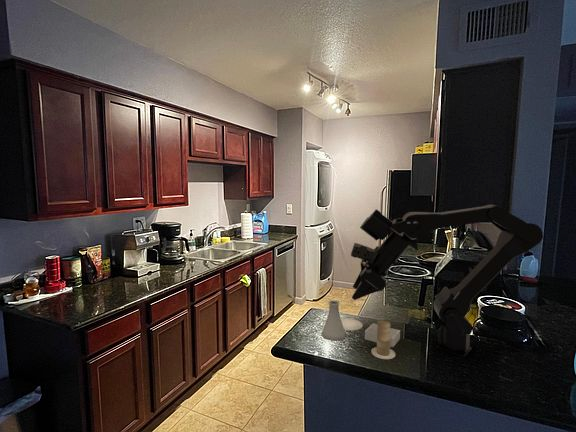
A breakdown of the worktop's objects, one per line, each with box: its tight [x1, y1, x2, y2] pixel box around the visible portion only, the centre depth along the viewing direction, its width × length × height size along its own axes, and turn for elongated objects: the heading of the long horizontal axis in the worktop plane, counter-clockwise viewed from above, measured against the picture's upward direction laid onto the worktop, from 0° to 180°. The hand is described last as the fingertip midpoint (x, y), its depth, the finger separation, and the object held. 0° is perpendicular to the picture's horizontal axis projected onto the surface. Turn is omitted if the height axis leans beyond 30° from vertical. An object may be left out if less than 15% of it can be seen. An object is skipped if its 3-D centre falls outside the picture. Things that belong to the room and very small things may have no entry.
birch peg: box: [376, 319, 391, 356], centre depth 80 cm, size 3×3×8 cm
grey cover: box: [364, 322, 401, 348], centre depth 87 cm, size 8×6×3 cm
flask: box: [321, 299, 347, 341], centre depth 90 cm, size 7×7×10 cm
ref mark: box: [370, 346, 396, 360], centre depth 80 cm, size 6×6×1 cm
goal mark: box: [341, 318, 363, 331], centre depth 97 cm, size 8×8×1 cm
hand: (353, 293), depth 87 cm, fingers open, 9 cm apart
